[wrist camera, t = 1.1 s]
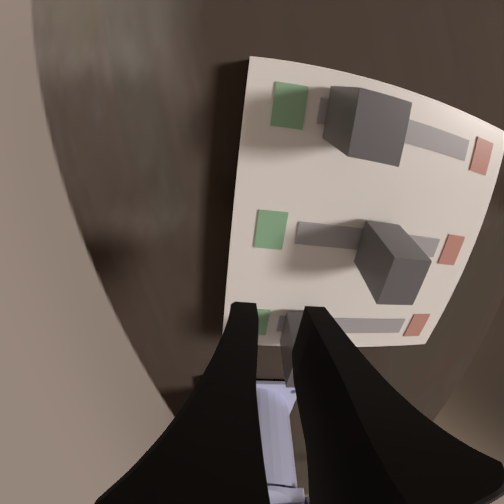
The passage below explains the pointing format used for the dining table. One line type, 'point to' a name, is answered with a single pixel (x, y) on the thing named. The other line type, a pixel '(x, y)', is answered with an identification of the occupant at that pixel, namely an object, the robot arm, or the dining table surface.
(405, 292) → the block
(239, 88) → the dining table surface
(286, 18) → the dining table surface
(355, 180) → the breaker board
